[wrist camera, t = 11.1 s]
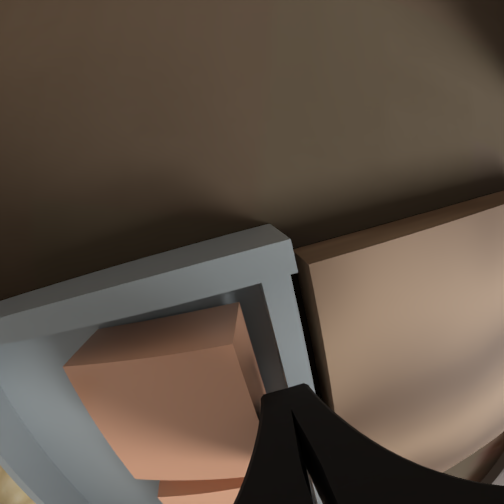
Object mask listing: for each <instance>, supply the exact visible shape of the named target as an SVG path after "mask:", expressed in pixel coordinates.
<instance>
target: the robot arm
mask: <svg viewBox="0 0 504 504" xmlns="http://www.w3.org/2000/svg"><path fill="white" fill-rule="evenodd" d="M307 471H308V473H309V475H310V477H311V480H312V482H313V484H314V486H315V488H316V491H317V493H318V495H319V497H320V499H321V501H322V504H504V486H500V485H492V484H485V483H480V482H475V481H470V480H466V479H462V478H458V477H454V476H451V475H448V474H445V473H442V472H439V471H436V470H433V469H430V468H427V467H424V466H422V465H419V464H417V463H415V462H412V461H410V460H408V459H406V458H403V457H401V456H399V455H398V454H396V453H394V452H392V451H390V450H388V449H386V448H384V447H383V446H381V445H379V444H378V443H376V442H374V441H373V440H371V439H370V438H368V437H367V436H365V435H364V434H362V433H361V432H359V431H358V430H357V429H355V428H354V427H353V426H351V425H350V424H349V423H347V422H346V421H345V420H344V419H342V418H341V417H340V416H339V415H337V414H336V413H335V412H334V411H333V410H332V409H331V408H329V407H328V406H327V405H326V404H325V403H324V402H323V401H322V400H321V399H320V398H319V397H318V396H317V395H316V394H315V393H314V391H313V390H312V389H311V388H310V387H309V385H307V384H305V383H302V384H299V385H295V386H292V387H289V388H285V389H282V390H278V391H274V392H271V393H267V394H263V396H262V397H261V410H260V419H259V426H258V431H257V436H256V440H255V444H254V449H253V452H252V456H251V459H250V462H249V465H248V468H247V471H246V474H245V477H244V480H243V483H242V485H241V488H240V490H239V492H238V495H237V497H236V499H235V501H234V503H233V504H314V503H313V498H312V493H311V488H310V483H309V478H308V473H307Z"/></svg>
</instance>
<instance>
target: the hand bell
mask: <svg viewBox="0 0 504 504" xmlns="http://www.w3.org/2000/svg"><path fill="white" fill-rule="evenodd" d="M0 504H36V503H35V502H34V501H33V500H32V499H31V498H30V497H29V496H28V495H27V494H26V493H25V492H24V491H23V490H22V489H21V488H20V487H19V486H18V485H17V484H16V483H15V482H14V480H13V479H12V478H11V477H10V476H9V475H8V474H7V473H6V471H5V470H4V469H3V468H2V467H1V466H0Z"/></svg>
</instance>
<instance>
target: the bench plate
mask: <svg viewBox="0 0 504 504" xmlns="http://www.w3.org/2000/svg"><path fill="white" fill-rule="evenodd" d="M293 251H294V256H295V260H296V265H297V269H298V273H297V275H298V280H299V284H300V289H301V294H302V298H303V303H304V308H305V313H306V318H307V323H308V328H309V333H310V338H311V343H312V348H313V353H314V358H315V363H316V369H317V374H318V379H319V385H320V390H321V396H322V401H323V402H324V403H325V404H326V405H327V406H328V407H329V408H331V409H332V410H333V411H334V412H335V413H336V414H337V415H339V416H340V417H341V418H342V419H344V420H345V421H346V422H347V423H349V424H350V425H351V426H353V427H354V428H355V429H357V430H358V431H359V432H361V433H362V434H364V435H365V436H367V437H368V438H370V439H371V440H373V441H374V442H376V443H378V444H379V445H381V446H383V447H384V448H386V449H388V450H390V451H392V452H394V453H396V454H398V455H399V456H401V457H403V458H406V459H408V460H410V461H412V462H415V463H417V464H419V465H422V466H424V467H427V468H430V469H433V470H436V471H439V472H444V471H446V470H447V469H449V468H451V467H452V466H454V465H456V464H457V463H459V462H461V461H462V460H464V459H465V458H467V457H468V456H470V455H471V454H473V453H474V452H476V451H477V450H479V449H480V448H482V447H483V446H485V445H486V444H487V443H489V442H490V441H491V440H493V439H494V438H496V437H497V436H498V435H500V434H501V433H502V432H503V431H504V190H503V191H500V192H496V193H493V194H489V195H486V196H482V197H479V198H475V199H472V200H468V201H465V202H461V203H458V204H454V205H451V206H447V207H444V208H440V209H437V210H433V211H430V212H426V213H422V214H419V215H415V216H412V217H408V218H405V219H401V220H398V221H394V222H390V223H387V224H383V225H380V226H376V227H372V228H369V229H365V230H362V231H358V232H354V233H351V234H347V235H344V236H340V237H336V238H333V239H329V240H325V241H322V242H318V243H315V244H311V245H307V246H304V247H300V248H296V249H293Z"/></svg>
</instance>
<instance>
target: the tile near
mask: <svg viewBox="0 0 504 504" xmlns="http://www.w3.org/2000/svg"><path fill="white" fill-rule="evenodd" d="M63 369H64V371H65V373H66V374H67V376H68V378H69V380H70V382H71V384H72V386H73V387H74V389H75V391H76V393H77V394H78V396H79V398H80V399H81V401H82V403H83V405H84V406H85V408H86V410H87V411H88V413H89V414H90V416H91V418H92V419H93V421H94V422H95V424H96V425H97V427H98V428H99V430H100V431H101V433H102V434H103V436H104V437H105V439H106V440H107V442H108V443H109V445H110V446H111V447H112V449H113V450H114V452H115V453H116V454H117V456H118V457H119V458H120V460H121V461H122V462H123V464H124V465H125V466H126V468H127V469H128V470H129V472H130V473H131V474H132V475H133V477H134V478H135V479H143V480H212V479H228V478H239V477H245V474H246V471H247V468H248V465H249V462H250V459H251V456H252V452H253V449H254V444H255V440H256V436H257V431H258V426H259V419H260V410H261V397H262V396H263V394H266V391H265V387H264V384H263V381H262V378H261V374H260V371H259V368H258V364H257V361H256V357H255V354H254V351H253V347H252V344H251V341H250V337H249V334H248V330H247V327H246V323H245V320H244V316H243V313H242V310H241V306H240V303H239V302H236V303H231V304H227V305H222V306H217V307H213V308H208V309H203V310H198V311H193V312H188V313H183V314H178V315H173V316H168V317H163V318H157V319H152V320H147V321H141V322H136V323H130V324H125V325H119V326H113V327H107V328H101V329H98V330H97V331H96V332H95V333H94V334H93V335H92V336H91V337H90V338H89V339H88V340H87V341H86V342H85V343H84V344H83V345H82V346H81V347H80V348H79V350H78V351H77V352H76V353H75V354H74V355H73V356H72V357H71V358H70V359H69V360H68V361H67V362H66V363H65V364H64V366H63Z"/></svg>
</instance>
